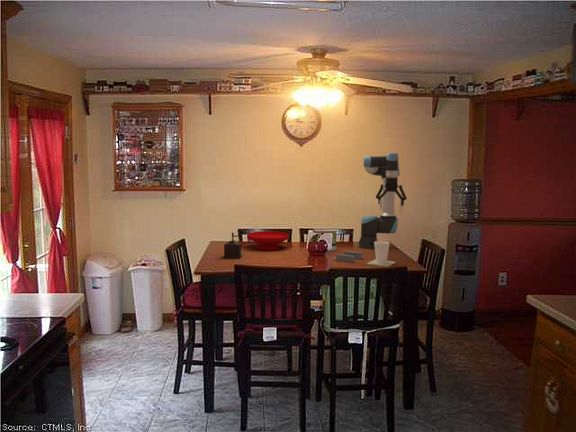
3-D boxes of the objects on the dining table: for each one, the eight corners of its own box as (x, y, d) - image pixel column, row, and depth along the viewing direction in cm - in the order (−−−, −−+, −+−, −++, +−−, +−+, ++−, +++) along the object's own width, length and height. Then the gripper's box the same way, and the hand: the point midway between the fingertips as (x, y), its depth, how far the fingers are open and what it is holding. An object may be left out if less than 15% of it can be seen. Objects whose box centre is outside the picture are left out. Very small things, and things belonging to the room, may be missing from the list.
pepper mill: (240, 259, 341) (240, 231, 339) (223, 258, 342) (223, 231, 340) (244, 254, 356) (243, 228, 354) (227, 254, 357) (227, 228, 355)
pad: (375, 260, 340) (375, 259, 340) (395, 262, 333) (395, 261, 333) (366, 264, 328) (366, 263, 328) (388, 266, 321) (388, 265, 321)
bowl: (249, 244, 398) (249, 231, 397) (289, 244, 397) (289, 231, 396) (244, 251, 368) (244, 237, 367) (288, 252, 367) (288, 238, 366)
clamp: (343, 256, 353) (343, 250, 352) (362, 258, 346) (362, 252, 345) (333, 260, 339) (333, 254, 339) (352, 262, 332) (353, 256, 332)
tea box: (316, 251, 369) (316, 231, 367) (311, 249, 379) (312, 229, 377) (336, 250, 373) (336, 230, 371) (331, 248, 383) (331, 228, 381)
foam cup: (387, 261, 335) (387, 241, 334) (390, 264, 326) (391, 243, 325) (372, 261, 335) (372, 241, 333) (375, 264, 326) (375, 243, 324)
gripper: (371, 176, 340) (370, 209, 342) (408, 178, 327) (407, 211, 329) (375, 176, 346) (374, 208, 348) (412, 177, 333) (411, 210, 336)
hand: (390, 210), depth 339 cm, fingers open, 13 cm apart
